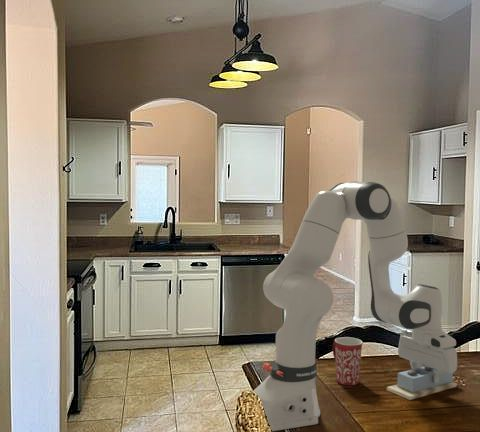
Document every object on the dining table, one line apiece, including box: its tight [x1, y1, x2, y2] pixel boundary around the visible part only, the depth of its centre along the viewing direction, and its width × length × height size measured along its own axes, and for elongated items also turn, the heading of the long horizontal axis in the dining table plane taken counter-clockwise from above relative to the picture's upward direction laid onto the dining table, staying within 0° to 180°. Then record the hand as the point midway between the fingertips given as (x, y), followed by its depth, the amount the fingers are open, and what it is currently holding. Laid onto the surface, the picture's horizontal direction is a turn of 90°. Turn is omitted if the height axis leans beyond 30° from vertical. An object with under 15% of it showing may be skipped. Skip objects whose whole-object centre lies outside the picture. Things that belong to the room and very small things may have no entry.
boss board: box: [386, 365, 458, 401], centre depth 160 cm, size 22×9×6 cm, turn 121°
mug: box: [332, 336, 364, 386], centre depth 167 cm, size 13×9×14 cm
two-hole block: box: [396, 365, 454, 392], centre depth 161 cm, size 19×6×4 cm, turn 121°
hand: (425, 378), depth 161 cm, fingers closed on two-hole block, 6 cm apart
